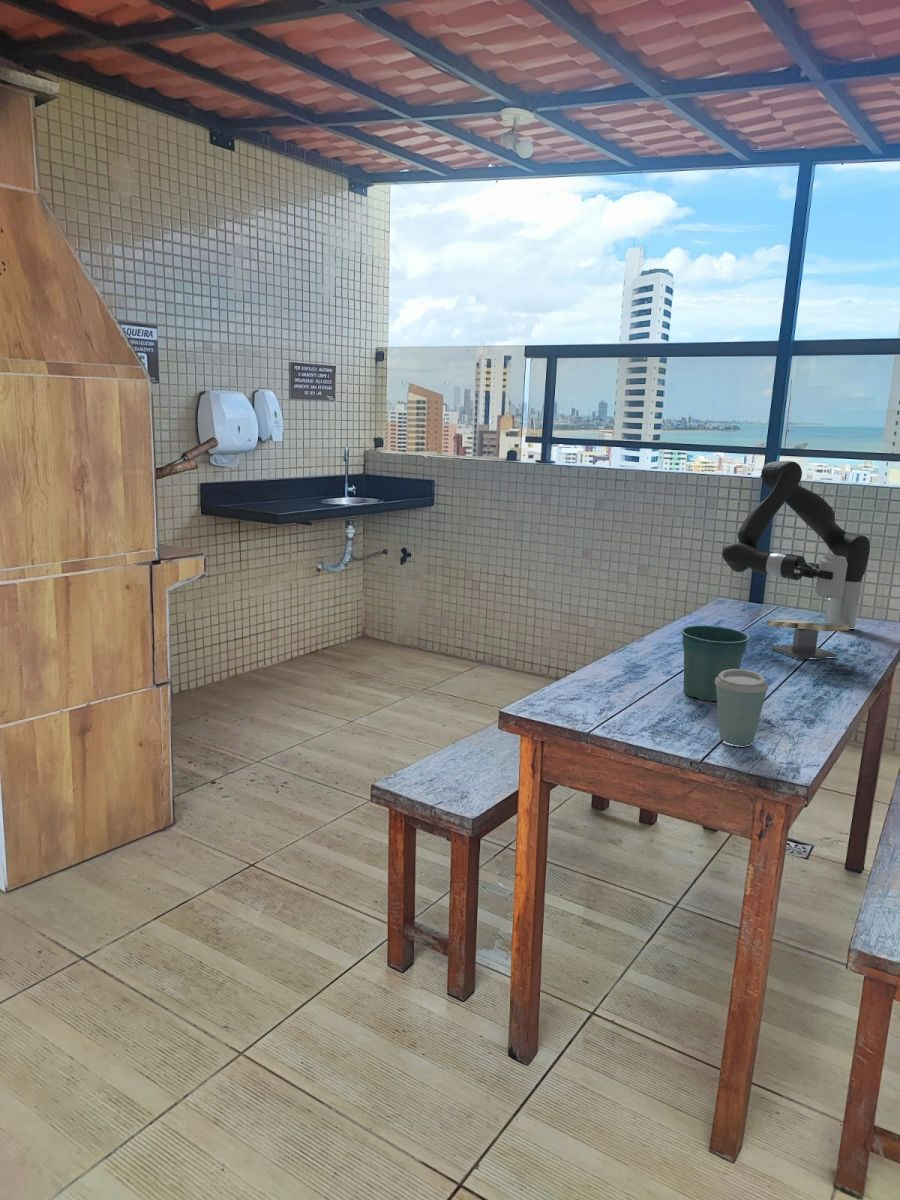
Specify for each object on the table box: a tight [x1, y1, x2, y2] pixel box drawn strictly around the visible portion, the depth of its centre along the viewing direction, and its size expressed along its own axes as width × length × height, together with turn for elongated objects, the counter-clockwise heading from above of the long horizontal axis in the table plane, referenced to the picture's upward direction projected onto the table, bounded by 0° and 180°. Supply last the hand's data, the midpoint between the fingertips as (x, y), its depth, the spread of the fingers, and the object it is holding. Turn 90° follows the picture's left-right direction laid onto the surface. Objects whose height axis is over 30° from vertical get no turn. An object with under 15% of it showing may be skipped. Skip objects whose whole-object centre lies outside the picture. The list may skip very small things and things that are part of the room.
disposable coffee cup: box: [715, 668, 769, 746], centre depth 177 cm, size 11×11×15 cm
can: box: [814, 554, 848, 599], centre depth 246 cm, size 8×8×12 cm
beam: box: [766, 619, 850, 632], centre depth 255 cm, size 26×10×2 cm, turn 18°
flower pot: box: [680, 624, 751, 702], centre depth 209 cm, size 16×16×16 cm
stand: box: [771, 628, 838, 660], centre depth 256 cm, size 12×14×8 cm
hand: (838, 575), depth 244 cm, fingers closed on can, 7 cm apart
